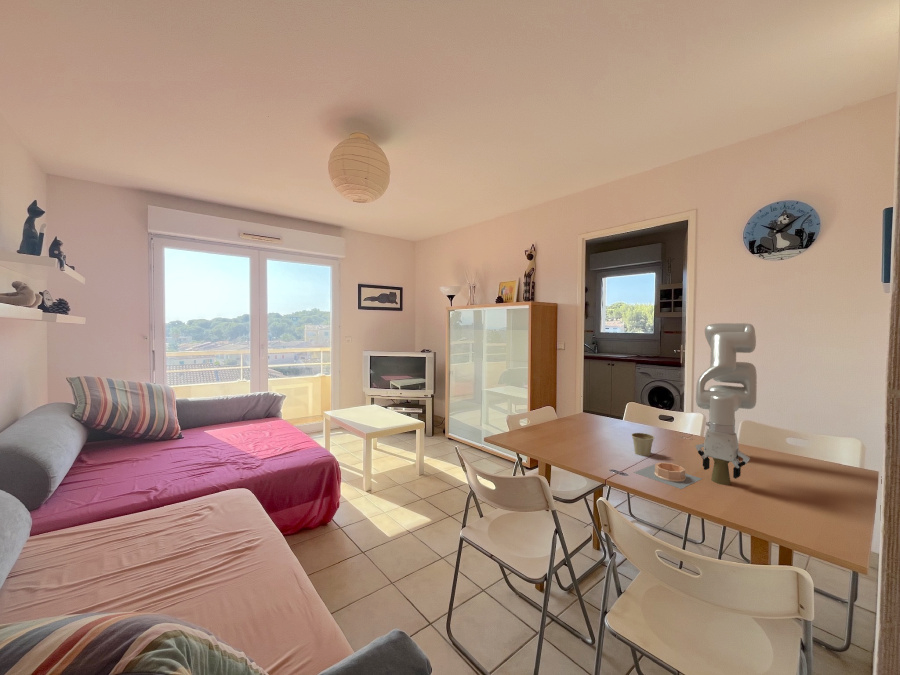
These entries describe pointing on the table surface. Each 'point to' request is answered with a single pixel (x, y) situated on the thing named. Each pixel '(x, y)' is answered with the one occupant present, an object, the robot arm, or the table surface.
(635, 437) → the flower pot
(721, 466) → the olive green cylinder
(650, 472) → the felt mat
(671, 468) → the peach octagonal bowl
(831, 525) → the table surface
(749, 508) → the table surface
